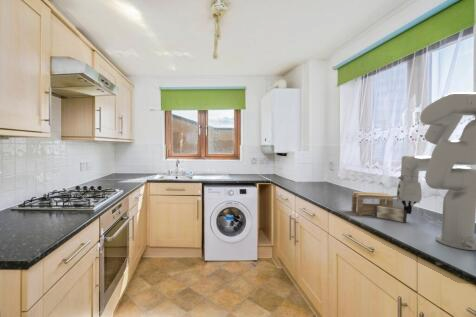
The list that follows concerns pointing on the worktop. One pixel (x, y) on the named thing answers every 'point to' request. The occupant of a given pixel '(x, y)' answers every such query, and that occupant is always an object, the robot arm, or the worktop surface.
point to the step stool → (369, 208)
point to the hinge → (396, 203)
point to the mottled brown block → (391, 213)
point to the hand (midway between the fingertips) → (407, 213)
